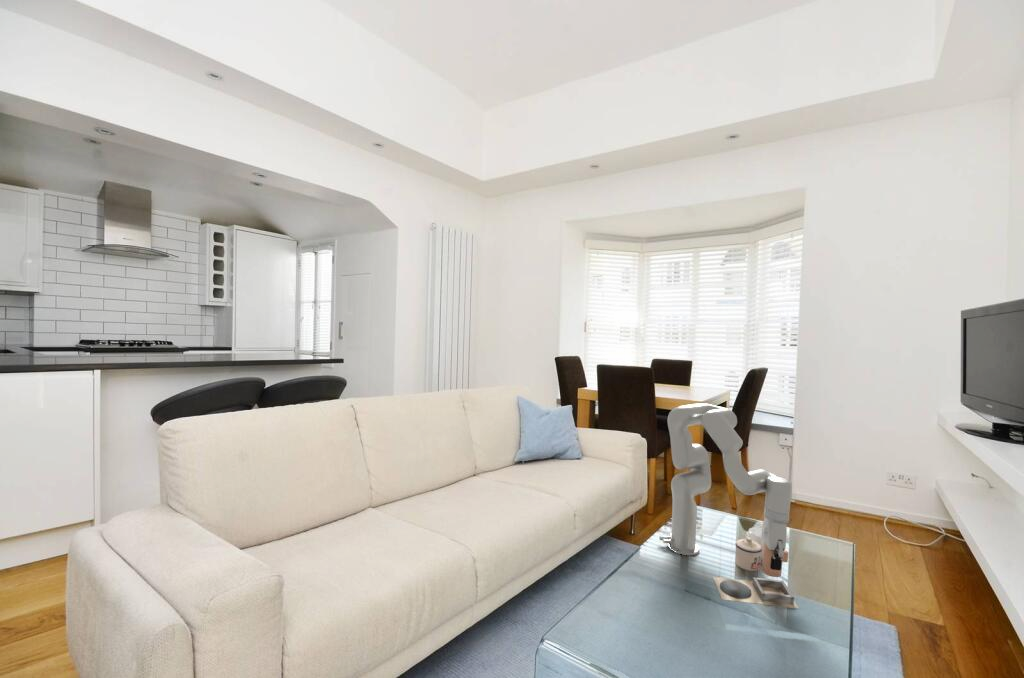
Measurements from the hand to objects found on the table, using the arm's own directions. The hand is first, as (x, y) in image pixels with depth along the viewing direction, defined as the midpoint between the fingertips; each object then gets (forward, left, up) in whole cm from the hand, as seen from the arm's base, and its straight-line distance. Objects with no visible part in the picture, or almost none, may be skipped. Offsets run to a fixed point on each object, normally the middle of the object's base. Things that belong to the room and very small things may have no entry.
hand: (772, 563), depth 168 cm
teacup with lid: (-2, +19, -12) cm, 23 cm away
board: (-6, -1, -12) cm, 13 cm away
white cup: (+4, +28, -12) cm, 31 cm away
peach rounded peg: (0, 0, -3) cm, 3 cm away
